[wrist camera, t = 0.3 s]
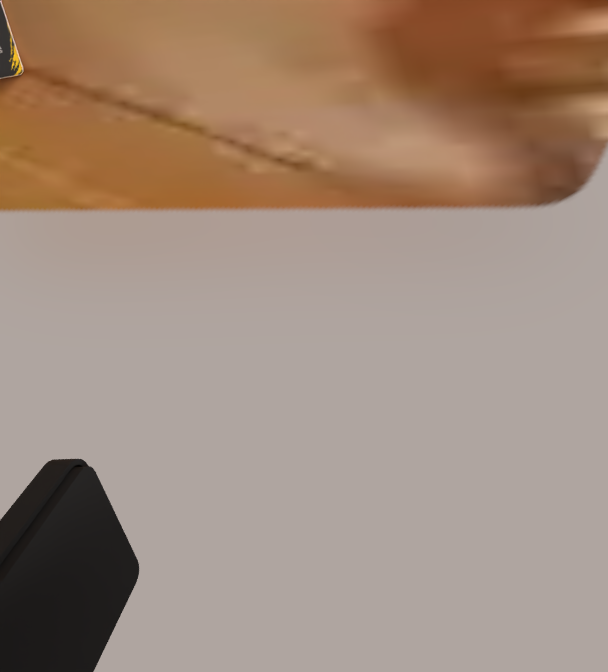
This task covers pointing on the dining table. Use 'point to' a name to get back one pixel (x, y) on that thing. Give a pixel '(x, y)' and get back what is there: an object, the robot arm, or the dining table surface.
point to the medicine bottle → (8, 49)
